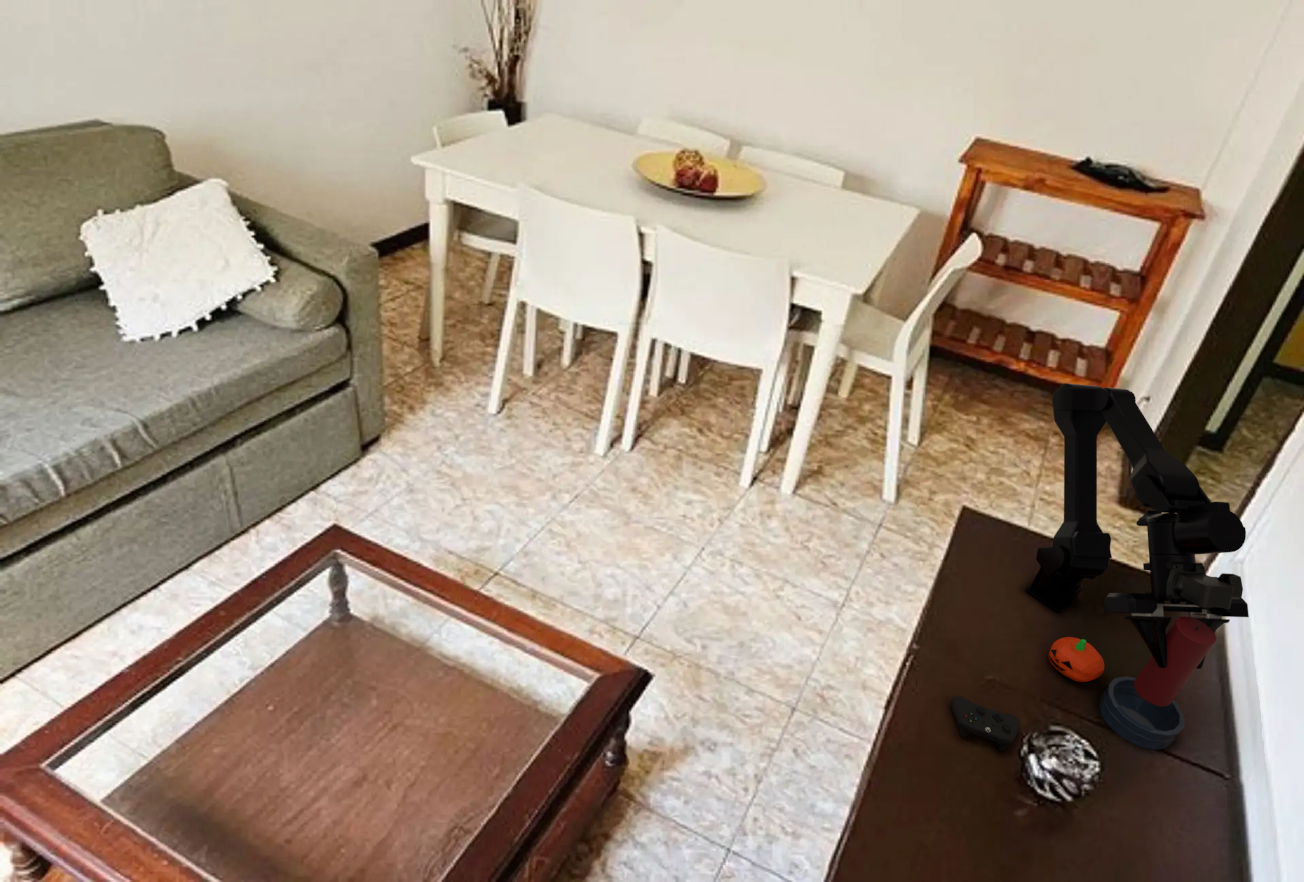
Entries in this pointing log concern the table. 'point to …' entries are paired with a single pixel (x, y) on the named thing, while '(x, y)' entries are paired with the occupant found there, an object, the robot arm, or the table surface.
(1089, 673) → the pumpkin
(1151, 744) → the blue round dish
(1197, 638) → the candle
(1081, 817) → the table surface
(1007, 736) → the gaming controller
